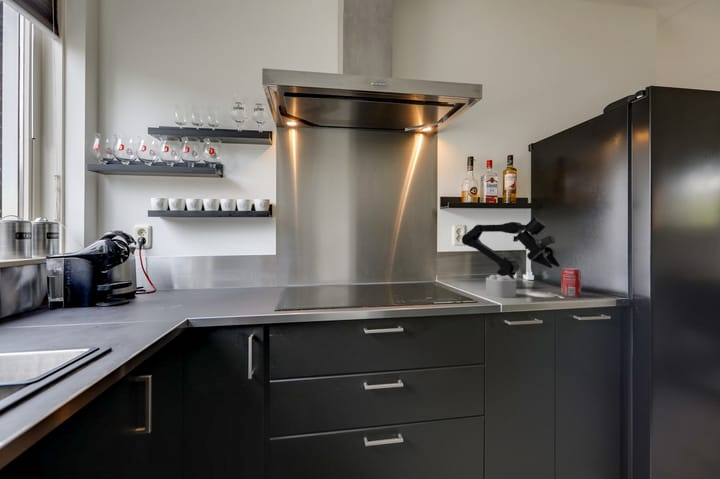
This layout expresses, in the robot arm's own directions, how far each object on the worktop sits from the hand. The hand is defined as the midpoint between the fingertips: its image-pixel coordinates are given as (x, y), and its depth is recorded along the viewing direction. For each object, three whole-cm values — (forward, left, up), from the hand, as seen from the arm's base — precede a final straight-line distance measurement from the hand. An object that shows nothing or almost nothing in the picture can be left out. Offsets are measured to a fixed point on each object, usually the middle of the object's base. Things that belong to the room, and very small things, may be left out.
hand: (555, 266), depth 141 cm
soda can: (+6, -2, -12) cm, 14 cm away
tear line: (0, -5, -12) cm, 13 cm away
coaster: (-5, -8, -12) cm, 15 cm away
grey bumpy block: (-20, -18, -12) cm, 29 cm away
